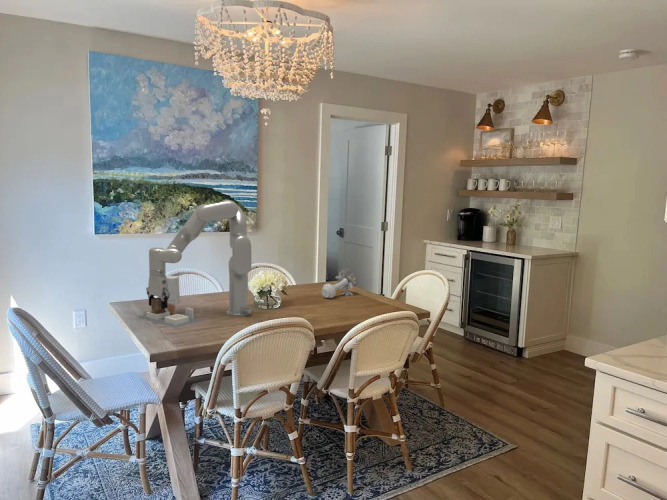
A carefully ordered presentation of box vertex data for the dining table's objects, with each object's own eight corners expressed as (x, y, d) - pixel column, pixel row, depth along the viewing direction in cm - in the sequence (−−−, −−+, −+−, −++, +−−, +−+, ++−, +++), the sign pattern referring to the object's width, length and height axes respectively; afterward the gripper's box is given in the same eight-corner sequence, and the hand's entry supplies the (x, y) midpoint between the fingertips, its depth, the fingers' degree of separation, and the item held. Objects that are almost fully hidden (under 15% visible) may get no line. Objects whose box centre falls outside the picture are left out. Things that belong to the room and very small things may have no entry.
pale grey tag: (193, 318, 245) (193, 309, 244) (191, 319, 244) (191, 309, 243) (187, 317, 248) (187, 307, 247) (185, 318, 246) (185, 308, 246)
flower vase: (332, 310, 299) (358, 294, 316) (332, 284, 291) (359, 268, 308) (317, 303, 307) (343, 287, 324) (316, 277, 299) (343, 262, 316)
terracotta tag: (175, 314, 253) (175, 304, 252) (172, 314, 252) (172, 305, 251) (169, 312, 255) (169, 303, 255) (167, 313, 254) (167, 303, 253)
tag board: (202, 322, 243) (202, 315, 243) (175, 329, 230) (175, 322, 230) (164, 312, 259) (164, 305, 259) (137, 318, 246) (137, 312, 245)
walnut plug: (165, 316, 248) (164, 298, 247) (157, 318, 244) (157, 300, 243) (159, 314, 250) (158, 297, 249) (151, 316, 246) (151, 298, 245)
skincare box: (180, 303, 280) (179, 275, 278) (176, 306, 273) (176, 278, 271) (165, 302, 279) (164, 275, 277) (161, 305, 273) (161, 277, 271)
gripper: (175, 274, 242) (175, 308, 245) (152, 269, 252) (153, 302, 254) (162, 276, 236) (162, 311, 239) (139, 271, 246) (140, 305, 248)
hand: (158, 306), depth 246 cm, fingers open, 9 cm apart
